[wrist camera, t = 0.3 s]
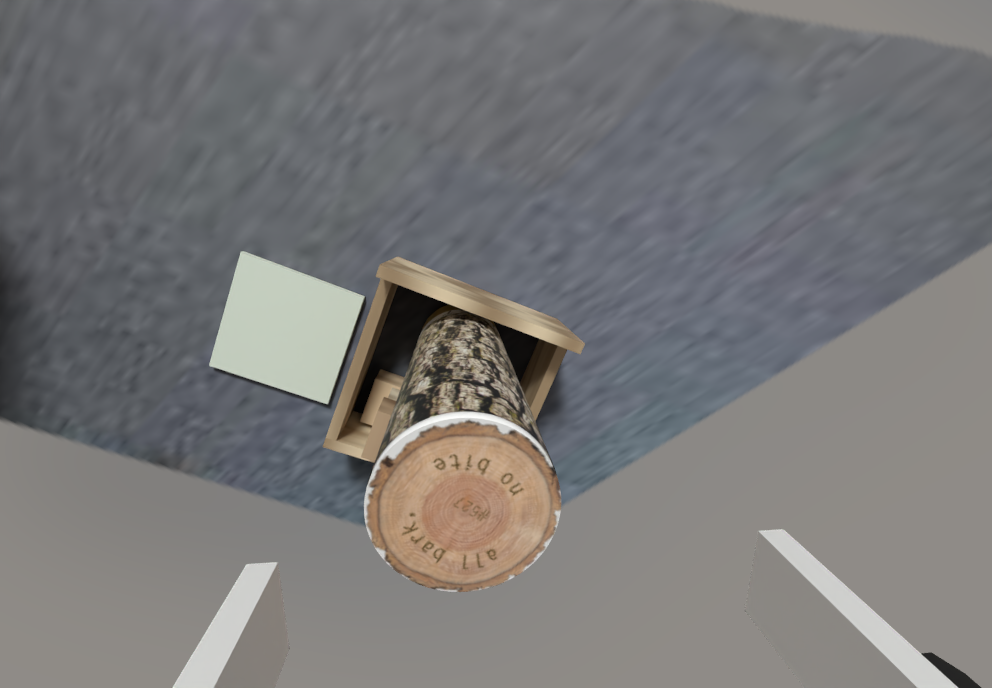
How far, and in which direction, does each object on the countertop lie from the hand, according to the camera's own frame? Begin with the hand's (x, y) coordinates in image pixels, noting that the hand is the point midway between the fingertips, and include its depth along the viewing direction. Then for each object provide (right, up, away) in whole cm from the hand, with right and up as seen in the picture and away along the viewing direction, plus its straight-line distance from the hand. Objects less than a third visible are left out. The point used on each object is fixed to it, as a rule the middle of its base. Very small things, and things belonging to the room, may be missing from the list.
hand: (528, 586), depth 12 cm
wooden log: (-4, +7, +28) cm, 29 cm away
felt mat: (-18, +8, +26) cm, 33 cm away
